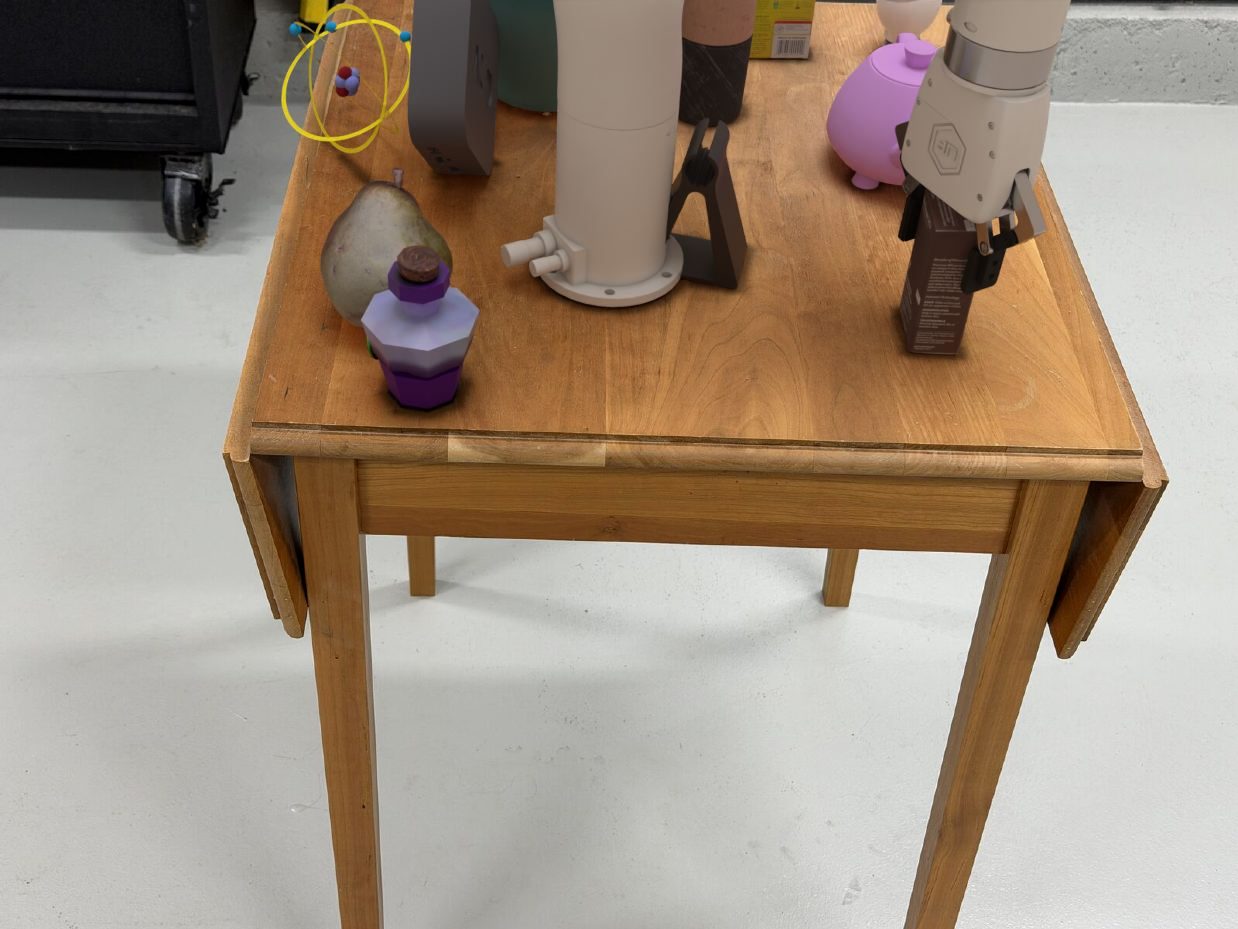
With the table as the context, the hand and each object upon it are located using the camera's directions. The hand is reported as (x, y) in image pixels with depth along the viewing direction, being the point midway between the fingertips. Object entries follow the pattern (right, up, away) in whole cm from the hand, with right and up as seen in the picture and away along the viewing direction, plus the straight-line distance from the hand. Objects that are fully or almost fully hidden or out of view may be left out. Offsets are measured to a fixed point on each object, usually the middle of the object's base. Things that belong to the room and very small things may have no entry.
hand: (945, 260), depth 110 cm
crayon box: (-9, +28, +39) cm, 49 cm away
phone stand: (-20, +1, +11) cm, 22 cm away
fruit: (-44, -4, +3) cm, 44 cm away
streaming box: (-43, +18, +13) cm, 48 cm away
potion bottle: (-41, -10, -3) cm, 42 cm away
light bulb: (+4, +28, +40) cm, 49 cm away
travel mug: (-17, +19, +30) cm, 40 cm away
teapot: (+1, +12, +23) cm, 26 cm away
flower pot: (-33, +22, +31) cm, 50 cm away
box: (0, -5, +5) cm, 7 cm away
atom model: (-48, +25, +13) cm, 56 cm away
